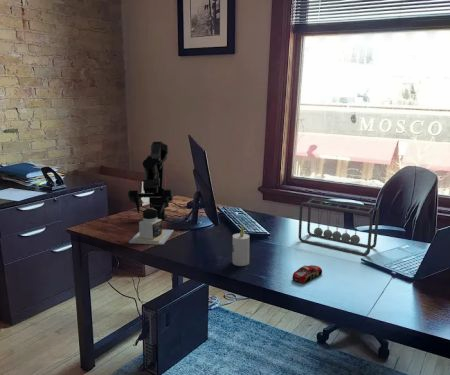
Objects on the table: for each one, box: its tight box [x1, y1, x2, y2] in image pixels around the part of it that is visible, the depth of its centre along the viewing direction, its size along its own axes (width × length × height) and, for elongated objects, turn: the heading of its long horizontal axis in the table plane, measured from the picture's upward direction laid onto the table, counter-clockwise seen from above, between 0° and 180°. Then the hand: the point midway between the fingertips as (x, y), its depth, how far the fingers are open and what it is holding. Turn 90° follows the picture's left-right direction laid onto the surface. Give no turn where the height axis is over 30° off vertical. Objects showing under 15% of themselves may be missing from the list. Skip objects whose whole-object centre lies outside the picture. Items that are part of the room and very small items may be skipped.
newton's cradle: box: [298, 197, 380, 257], centre depth 166 cm, size 30×10×18 cm, turn 56°
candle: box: [231, 224, 251, 267], centre depth 149 cm, size 6×6×15 cm
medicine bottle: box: [138, 208, 163, 240], centre depth 173 cm, size 7×7×12 cm
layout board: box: [128, 228, 174, 246], centre depth 177 cm, size 17×15×1 cm
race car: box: [292, 264, 323, 284], centre depth 139 cm, size 13×5×4 cm, turn 133°
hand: (149, 212), depth 170 cm, fingers open, 9 cm apart
